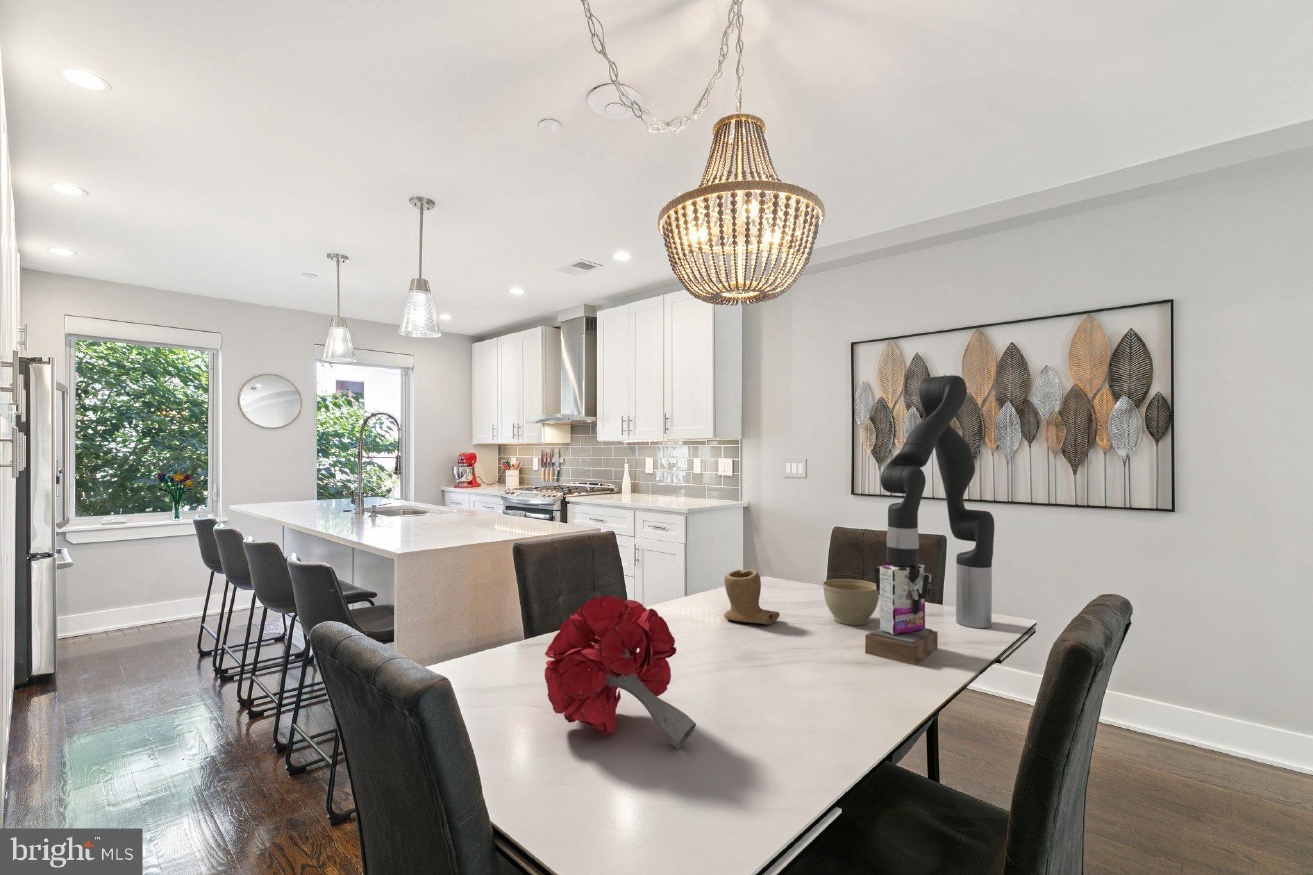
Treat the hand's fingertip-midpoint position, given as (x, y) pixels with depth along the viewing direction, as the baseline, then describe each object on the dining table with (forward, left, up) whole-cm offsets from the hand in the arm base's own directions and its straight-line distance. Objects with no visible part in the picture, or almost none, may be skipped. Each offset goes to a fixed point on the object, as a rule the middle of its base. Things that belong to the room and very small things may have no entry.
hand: (902, 611), depth 154 cm
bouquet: (+79, -21, -10) cm, 82 cm away
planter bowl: (-16, -21, -10) cm, 28 cm away
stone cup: (+6, -42, -10) cm, 44 cm away
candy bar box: (0, 0, -5) cm, 5 cm away
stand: (0, 0, -10) cm, 10 cm away
